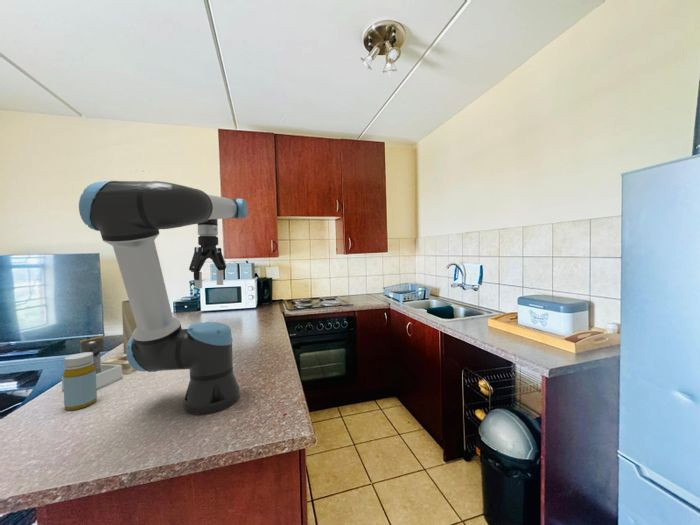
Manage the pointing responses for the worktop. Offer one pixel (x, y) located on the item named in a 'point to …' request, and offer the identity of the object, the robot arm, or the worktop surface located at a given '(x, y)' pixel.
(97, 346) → the grey capped post
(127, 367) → the eye block
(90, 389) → the bottle
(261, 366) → the worktop surface
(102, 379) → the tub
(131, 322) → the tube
